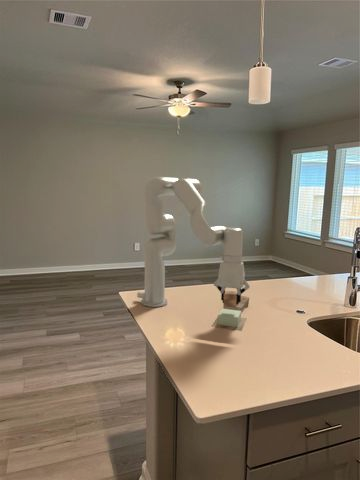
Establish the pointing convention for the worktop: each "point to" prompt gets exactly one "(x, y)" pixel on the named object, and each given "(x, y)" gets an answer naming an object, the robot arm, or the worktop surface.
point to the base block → (229, 317)
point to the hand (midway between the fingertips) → (230, 302)
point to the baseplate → (230, 326)
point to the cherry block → (230, 299)
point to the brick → (240, 304)
